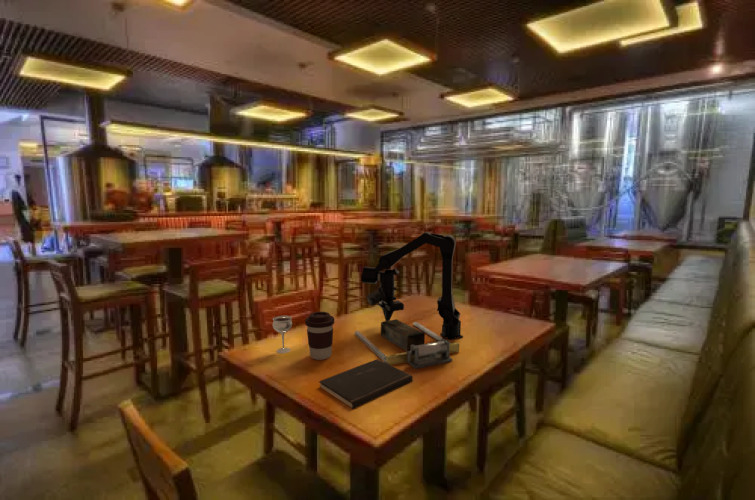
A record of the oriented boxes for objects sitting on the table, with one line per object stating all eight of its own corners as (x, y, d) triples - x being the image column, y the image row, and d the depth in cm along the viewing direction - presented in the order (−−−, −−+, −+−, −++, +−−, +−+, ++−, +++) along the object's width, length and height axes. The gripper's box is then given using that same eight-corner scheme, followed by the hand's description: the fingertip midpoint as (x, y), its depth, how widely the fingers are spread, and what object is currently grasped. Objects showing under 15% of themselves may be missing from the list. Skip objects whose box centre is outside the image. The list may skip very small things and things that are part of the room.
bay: (416, 324, 169) (416, 317, 168) (459, 351, 140) (459, 343, 140) (354, 334, 158) (354, 327, 157) (387, 365, 129) (387, 357, 129)
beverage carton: (396, 332, 160) (397, 316, 159) (425, 349, 144) (426, 331, 143) (380, 336, 156) (380, 320, 155) (407, 353, 140) (408, 335, 139)
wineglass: (269, 352, 140) (268, 320, 138) (280, 345, 146) (279, 314, 144) (286, 355, 138) (285, 322, 136) (296, 348, 144) (295, 316, 142)
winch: (443, 355, 137) (443, 337, 136) (451, 361, 133) (452, 342, 132) (403, 363, 131) (403, 345, 130) (410, 369, 126) (411, 350, 125)
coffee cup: (339, 352, 140) (339, 311, 138) (327, 363, 131) (326, 320, 129) (314, 348, 143) (313, 308, 141) (301, 359, 134) (299, 317, 132)
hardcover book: (319, 388, 116) (318, 381, 116) (377, 365, 131) (377, 358, 131) (352, 411, 104) (352, 403, 104) (412, 382, 119) (412, 375, 119)
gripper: (360, 281, 165) (360, 317, 167) (378, 292, 148) (378, 331, 150) (384, 279, 169) (384, 314, 172) (404, 288, 152) (404, 327, 155)
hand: (387, 321), depth 162 cm, fingers closed
